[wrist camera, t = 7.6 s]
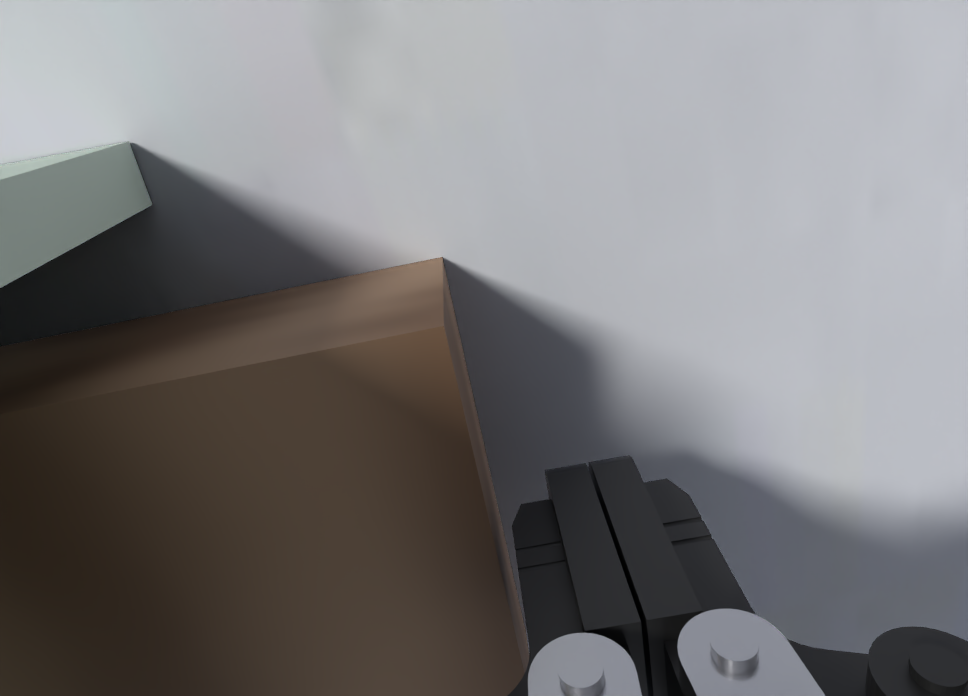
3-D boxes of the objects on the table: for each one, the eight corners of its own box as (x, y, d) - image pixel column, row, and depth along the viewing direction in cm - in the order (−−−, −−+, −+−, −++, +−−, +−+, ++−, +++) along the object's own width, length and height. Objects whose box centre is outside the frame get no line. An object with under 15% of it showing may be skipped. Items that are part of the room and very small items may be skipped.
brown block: (442, 251, 12) (443, 325, 9) (523, 618, 16) (545, 764, 12) (-208, 381, 12) (-438, 501, 9) (26, 712, 16) (-78, 880, 13)
